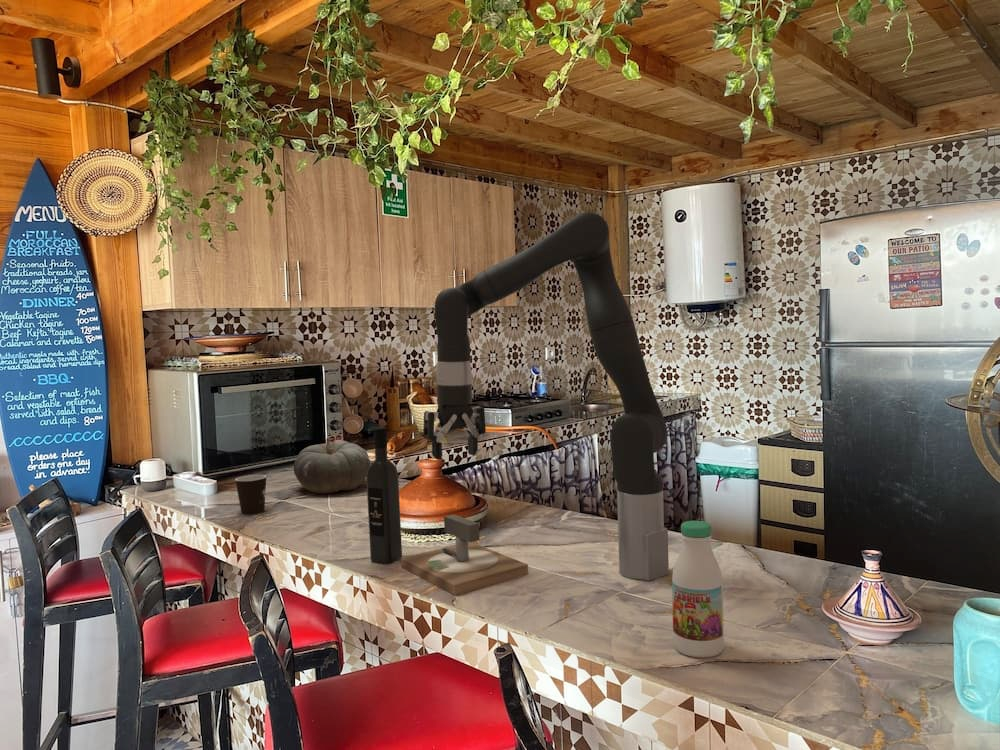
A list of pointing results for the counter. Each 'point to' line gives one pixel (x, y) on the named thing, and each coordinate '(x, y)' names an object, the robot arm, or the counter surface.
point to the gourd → (331, 467)
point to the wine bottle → (383, 504)
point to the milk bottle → (697, 594)
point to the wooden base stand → (464, 568)
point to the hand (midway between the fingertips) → (455, 456)
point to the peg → (461, 535)
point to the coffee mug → (251, 493)
